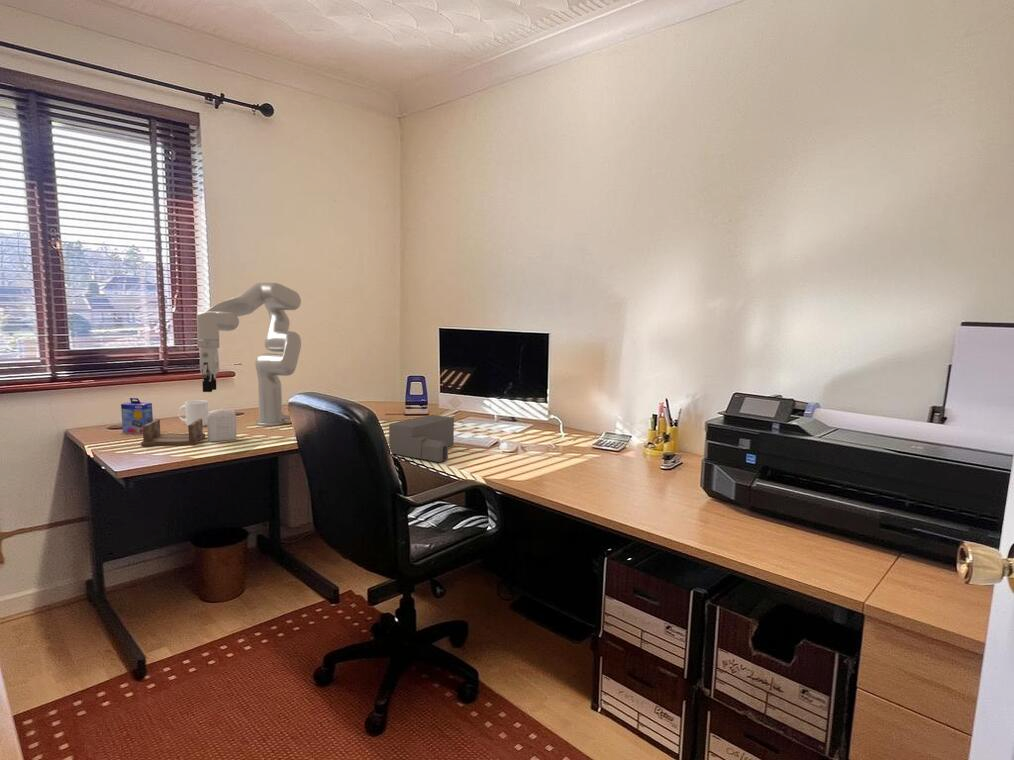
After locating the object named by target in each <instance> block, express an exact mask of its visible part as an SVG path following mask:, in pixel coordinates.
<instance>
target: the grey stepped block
mask: <svg viewBox="0 0 1014 760" xmlns="http://www.w3.org/2000/svg"><path fill="white" fill-rule="evenodd" d="M388 426H389V427H388V433H389V434H388V438H389V439H388V447H389V446H390V449H391V452H392V453H391V454H394V455H399V456H405V457H410V458H414V459H421V460H427V461H431V462H436V463H442V462H443V461H447V460H448V459H449V447H450V446H453V445H454V443H455V441H454V440H455V439H454V436H455V435H454V434H455V433H454V431H455V428H454V426H455V417H451V416H444V415H437V414H430V415H423V416H420V417H416V418H409V419H405V420H401V421H396V422H390V423H388Z"/></svg>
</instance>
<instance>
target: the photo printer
mask: <svg viewBox="0 0 1014 760" xmlns="http://www.w3.org/2000/svg"><path fill="white" fill-rule="evenodd" d="M206 426H207V428H206V429H207V442H209V443H210V442H211V443H212V442H223V441H225V442H226V441H234V440H237V413H236V410H233V409H229V408H219V409H217V408H216V409H214V410H210V411H208V416H207V425H206Z"/></svg>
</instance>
